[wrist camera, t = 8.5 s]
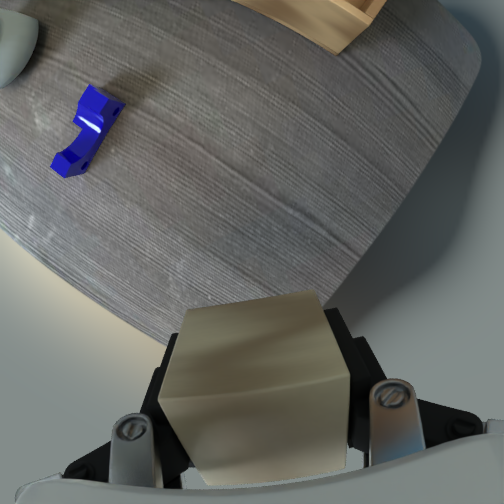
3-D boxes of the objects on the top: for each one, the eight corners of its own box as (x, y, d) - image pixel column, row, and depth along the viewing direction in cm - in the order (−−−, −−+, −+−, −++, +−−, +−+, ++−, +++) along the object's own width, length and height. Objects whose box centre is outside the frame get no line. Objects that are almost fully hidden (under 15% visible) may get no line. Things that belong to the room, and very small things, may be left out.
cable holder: (100, 87, 24) (81, 81, 21) (125, 103, 25) (108, 98, 21) (61, 156, 26) (40, 159, 23) (84, 173, 27) (64, 178, 23)
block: (314, 287, 11) (351, 374, 6) (321, 382, 12) (345, 469, 8) (186, 308, 11) (155, 399, 7) (215, 397, 12) (207, 486, 8)
